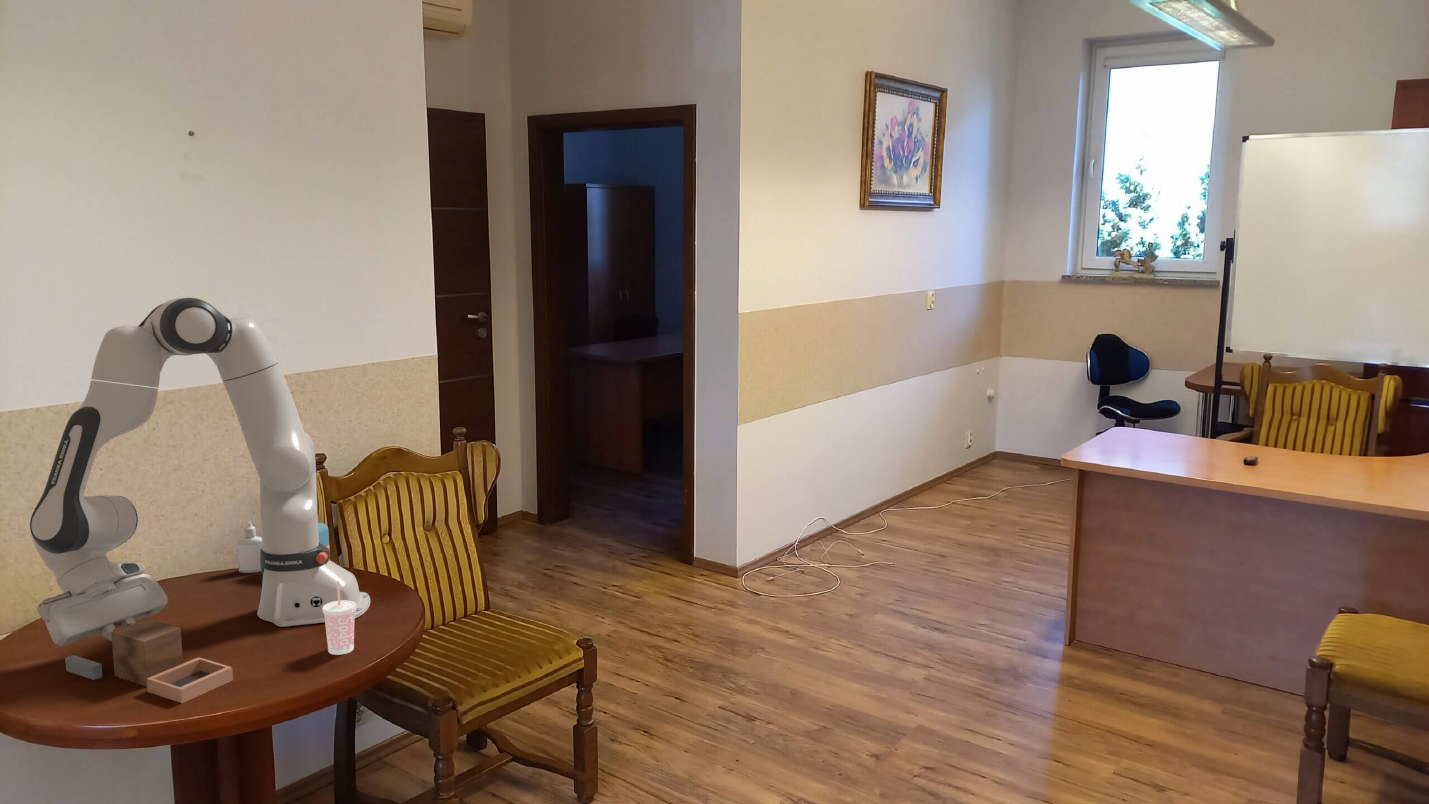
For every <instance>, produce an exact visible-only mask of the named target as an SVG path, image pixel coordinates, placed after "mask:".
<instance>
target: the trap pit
mask: <svg viewBox="0 0 1429 804" xmlns="http://www.w3.org/2000/svg"><path fill="white" fill-rule="evenodd" d="M233 672H234V671H233V667H232V666H230V665H226V664H223V663H219V662H217V661H213V660H209V659H206V658H202V657H195V658H193V659H191V660H189V661H185V662H183V664H181V665H178V666H176V667H174V668H171V669H169V670H166V671H164V672H161V673H159V674H157V675H154V676H152V677H149V678H147V687H146V688H147V693H150V694H153V695H156V696H159V697H161V698H165V699H168V700H171V701H172V702H173V701H174V702H177V703H180V704H184V703H186V702H189V701H190V700H192V699H196V698H197V697H199V696H201V695H204V694H206V693H208V692H211V691H212V690H215V689H217V688H219V687H222V686H224V685H226V684H228V683H231V682H233V681H234V673H233Z"/></svg>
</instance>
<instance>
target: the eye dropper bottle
mask: <svg viewBox="0 0 1429 804" xmlns="http://www.w3.org/2000/svg"><path fill="white" fill-rule="evenodd" d="M243 531H244V534H243V535H244V537H242V538H241V537H240V539H239V540H238V541H237V560H238V561H237V562H238V572H239V573H241V574H252V573H253V574H254V573H259V572H260V573H261V569H260V550H261V549H262V536H258V535H257V534H256V533H257V532H256V531H257V530H256V526H253V524H252V521H248V522H247V524H246V527H244V528H243Z"/></svg>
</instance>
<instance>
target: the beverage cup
mask: <svg viewBox="0 0 1429 804" xmlns="http://www.w3.org/2000/svg"><path fill="white" fill-rule="evenodd" d="M337 594H338V601H334V602H330V603H327V604H325V605H324V606H323V608H322V610H323V613H324V617H325V622H324V623H325V634H326V642H327V651H328V653H329V654H331V655H336V656H339V655H341V656H342V655H347V654H348V653H351V652H353V650H354V648H355V643H354V642H355V619H356V618H355V610H356V603H355V602H353V601H347V600H341V601H340V581H337Z"/></svg>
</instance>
